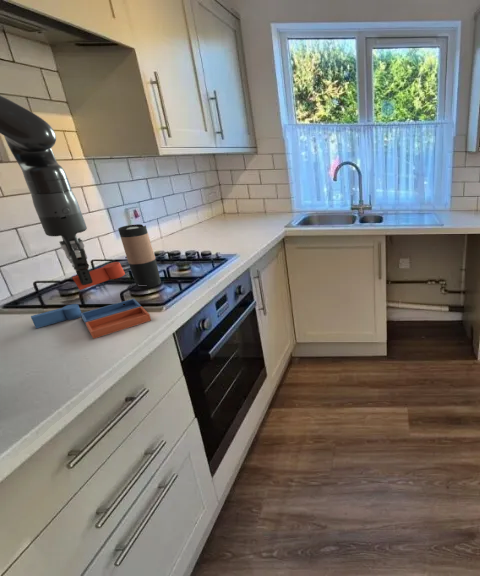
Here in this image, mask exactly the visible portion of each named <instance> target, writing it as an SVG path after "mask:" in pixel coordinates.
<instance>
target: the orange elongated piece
mask: <svg viewBox="0 0 480 576" xmlns="http://www.w3.org/2000/svg"><path fill="white" fill-rule="evenodd" d="M125 272H126V271H125V270H124V269H123V266H122V264H121V263H120V262H119V261H113V262H110V263H107V264H105V265H103V266H101V267H98V268H95V269H92V270H89V273H90V276H91V278H92V281H93V282H92V283H91V284H86V285H82V284H81V282H80V279H79V277H78V275H77V274H76V275H74V276H72V277H71V279H72V280H73V282H74V283H75V285H76V287H77V288H78V290H79V291H82V290H85V289H87V288H90V287H94V286H96V285H99V284H102V283H104V282H107V281H109V280H115V279H119V278H122V277H123V276H125V275H126V273H125Z"/></svg>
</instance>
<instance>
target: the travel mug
mask: <svg viewBox="0 0 480 576" xmlns="http://www.w3.org/2000/svg"><path fill="white" fill-rule="evenodd" d="M117 230H118V233H119V236H120V240H121V243H122V246H123V249H124V253H125V256H126V261H127V263H128V266H129V269H130V271H131V274H132V277H133V279H134V282H135V285H136V284H139V285H147V286H138V285H136V287H137V286H138V287H139V288H138V287H137V288H138V289H141V290H142V289H144V290H145V289H151V288H154V287H158V286H159V285H161V284H162V280H161V279H162V278H161V275H160V272H159V268H158V263H157V259H156V256H155V252H154V249H153V245H152V243H151V239H150V235H149V233H148V229H147V225H143V224H140V223H138V224H136V223H135V224H128V225H124V226H120V227H118V228H117Z"/></svg>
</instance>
